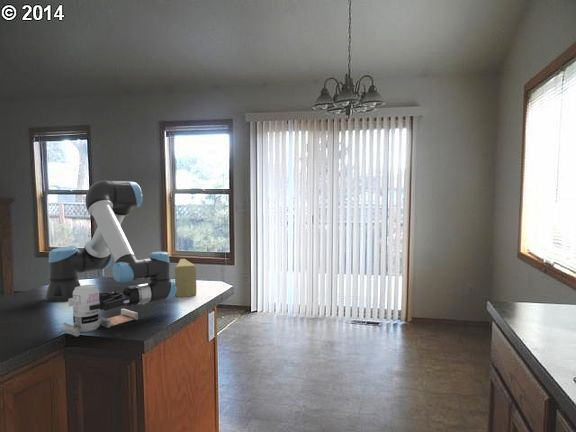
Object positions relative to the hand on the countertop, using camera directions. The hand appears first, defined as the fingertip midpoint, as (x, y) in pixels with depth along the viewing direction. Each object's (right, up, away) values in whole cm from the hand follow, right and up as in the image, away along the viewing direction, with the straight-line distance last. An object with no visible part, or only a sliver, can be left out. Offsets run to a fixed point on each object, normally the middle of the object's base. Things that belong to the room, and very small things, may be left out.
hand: (73, 306), depth 136 cm
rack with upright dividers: (+6, -9, +8) cm, 13 cm away
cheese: (+23, -6, +58) cm, 63 cm away
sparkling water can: (+3, -9, +3) cm, 10 cm away
